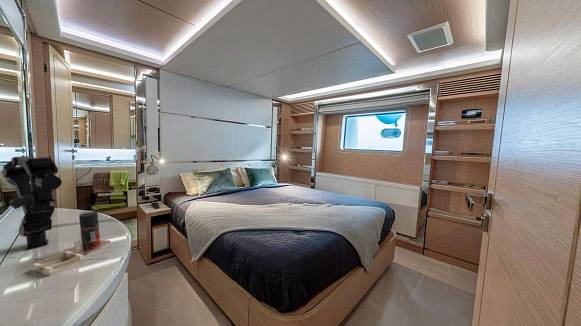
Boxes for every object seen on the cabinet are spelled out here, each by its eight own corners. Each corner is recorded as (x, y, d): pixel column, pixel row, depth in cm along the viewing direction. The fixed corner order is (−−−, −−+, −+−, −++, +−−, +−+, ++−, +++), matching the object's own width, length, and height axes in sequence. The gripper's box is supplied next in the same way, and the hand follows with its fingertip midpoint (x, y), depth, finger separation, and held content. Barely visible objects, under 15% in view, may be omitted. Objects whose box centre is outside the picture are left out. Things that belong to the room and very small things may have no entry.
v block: (110, 242, 100) (110, 235, 100) (87, 254, 89) (86, 247, 89) (90, 241, 101) (89, 234, 101) (64, 253, 90) (63, 246, 90)
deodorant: (89, 250, 92) (86, 216, 90) (78, 248, 93) (75, 215, 91) (103, 243, 97) (101, 212, 96) (93, 242, 98) (90, 211, 97)
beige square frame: (32, 270, 78) (32, 264, 78) (67, 256, 88) (67, 250, 88) (49, 275, 75) (49, 269, 75) (83, 260, 85) (83, 254, 85)
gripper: (13, 186, 89) (18, 222, 90) (5, 194, 76) (11, 235, 78) (53, 182, 97) (57, 215, 99) (52, 189, 84) (56, 226, 86)
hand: (46, 222), depth 90 cm, fingers open, 9 cm apart
